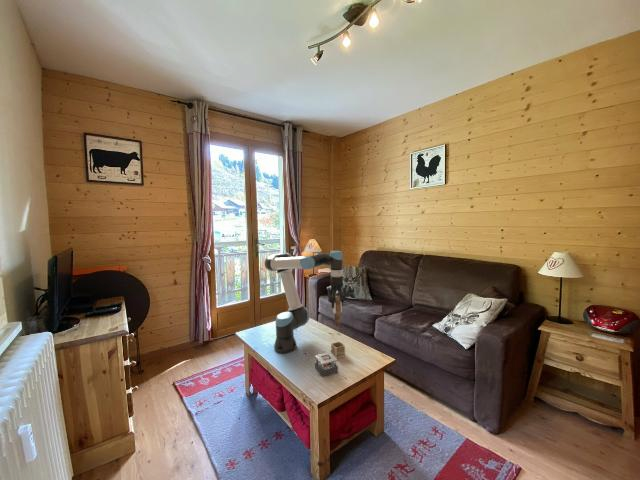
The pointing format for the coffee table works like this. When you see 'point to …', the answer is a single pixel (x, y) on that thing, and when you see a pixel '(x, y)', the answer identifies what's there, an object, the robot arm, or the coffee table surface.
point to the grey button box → (331, 360)
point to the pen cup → (338, 349)
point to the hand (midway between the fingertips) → (337, 312)
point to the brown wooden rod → (337, 310)
